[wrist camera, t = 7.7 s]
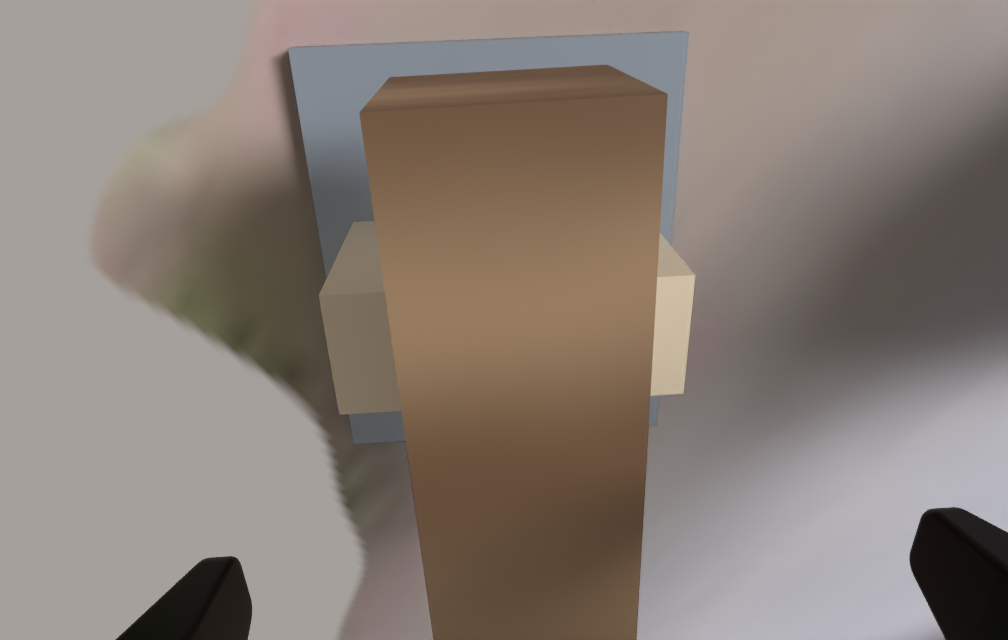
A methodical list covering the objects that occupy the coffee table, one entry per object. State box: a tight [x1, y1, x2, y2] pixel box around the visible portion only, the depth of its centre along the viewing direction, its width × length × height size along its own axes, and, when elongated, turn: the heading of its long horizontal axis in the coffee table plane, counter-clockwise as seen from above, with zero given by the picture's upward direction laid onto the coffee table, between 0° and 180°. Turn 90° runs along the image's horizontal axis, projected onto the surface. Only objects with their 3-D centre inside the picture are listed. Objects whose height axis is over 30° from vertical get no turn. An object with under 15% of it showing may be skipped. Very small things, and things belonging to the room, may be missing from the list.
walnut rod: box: [359, 65, 668, 640], centre depth 13 cm, size 12×4×4 cm, turn 3°
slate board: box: [288, 31, 695, 444], centre depth 17 cm, size 10×12×6 cm
